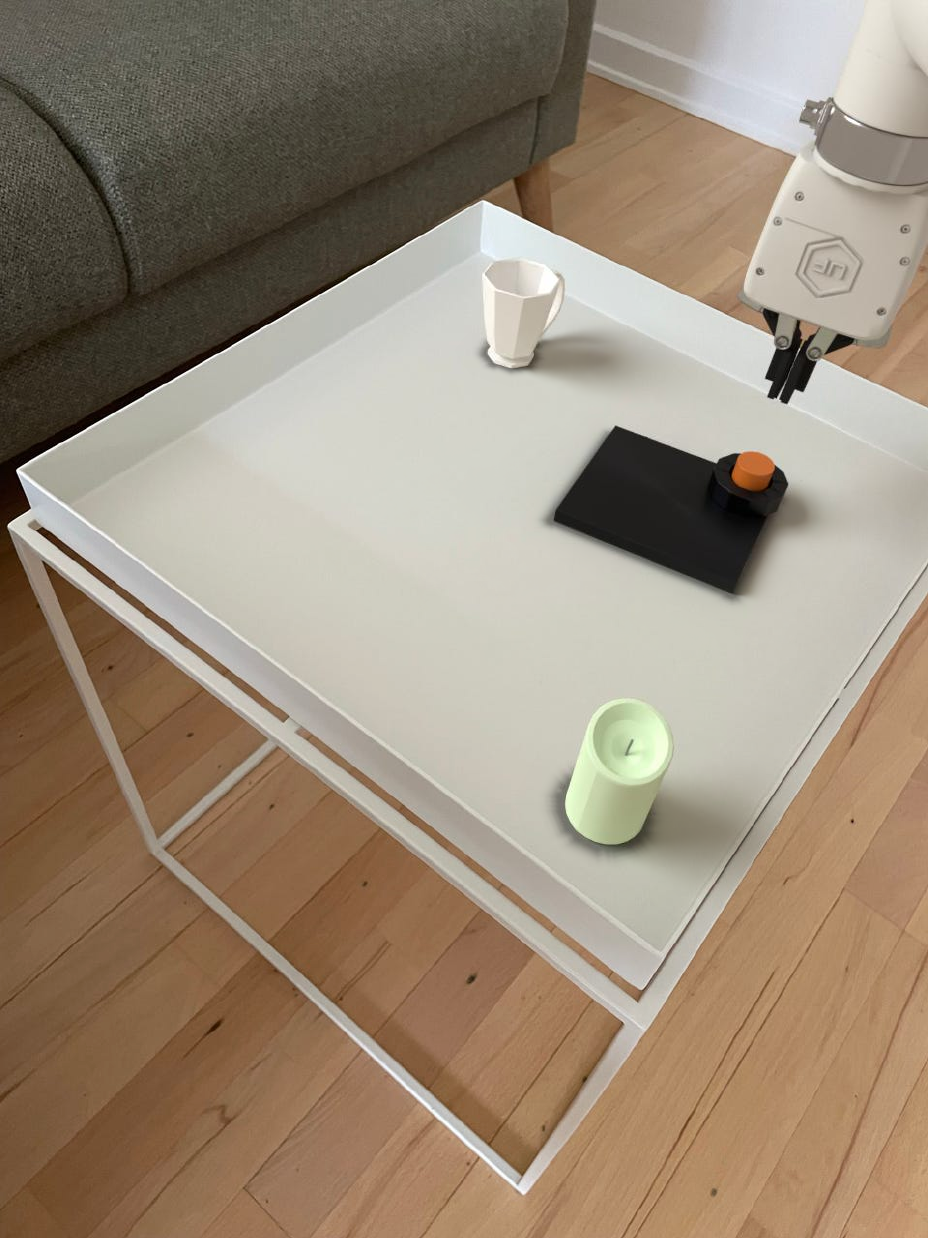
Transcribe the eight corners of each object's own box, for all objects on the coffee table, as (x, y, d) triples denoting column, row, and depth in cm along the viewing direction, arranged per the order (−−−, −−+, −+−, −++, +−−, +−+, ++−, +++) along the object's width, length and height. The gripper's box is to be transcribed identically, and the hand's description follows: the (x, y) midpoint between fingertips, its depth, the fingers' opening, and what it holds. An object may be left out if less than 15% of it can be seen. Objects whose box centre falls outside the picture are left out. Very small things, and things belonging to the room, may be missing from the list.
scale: (783, 497, 83) (795, 469, 80) (737, 596, 74) (749, 568, 72) (614, 433, 86) (621, 405, 84) (553, 520, 78) (559, 492, 76)
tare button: (772, 476, 80) (779, 459, 79) (762, 496, 78) (769, 480, 77) (737, 463, 81) (743, 446, 80) (726, 483, 79) (733, 466, 78)
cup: (458, 351, 93) (465, 272, 87) (528, 316, 98) (539, 239, 92) (512, 385, 90) (524, 306, 84) (581, 347, 95) (597, 270, 89)
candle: (646, 850, 59) (680, 776, 53) (564, 841, 59) (589, 766, 53) (642, 779, 62) (674, 702, 56) (564, 771, 62) (588, 692, 56)
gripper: (748, 128, 59) (672, 382, 73) (999, 202, 56) (869, 454, 69) (780, 90, 64) (703, 335, 78) (1014, 156, 60) (889, 401, 74)
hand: (781, 391), depth 73 cm, fingers closed
